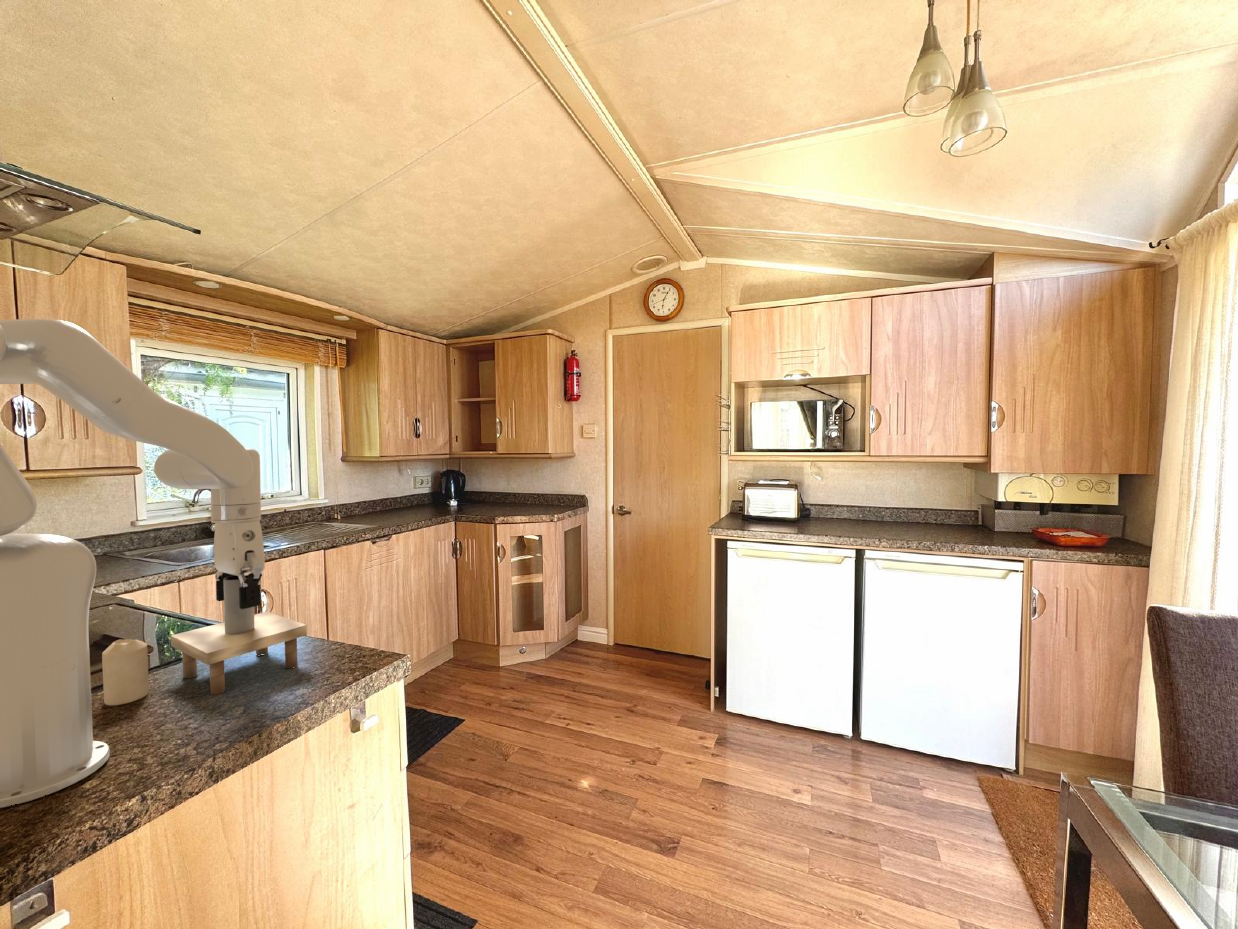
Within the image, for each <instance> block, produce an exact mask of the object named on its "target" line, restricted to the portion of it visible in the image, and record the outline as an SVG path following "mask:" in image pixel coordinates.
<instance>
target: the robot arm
mask: <svg viewBox="0 0 1238 929" xmlns="http://www.w3.org/2000/svg"><path fill="white" fill-rule="evenodd" d="M16 384H17V385H25V384H26V385H28V384H29V385H30V384H33V385H34V384H37V385H39V386H40V387H42V388H44V389H45V390H46V391H47V392H49V393H50V394H52V395H53V396H54V397H56V398H58V399H59V400H60V401H62V402H63V403H64V404H65V405H67V406H68V407H70V408H71V409H73V410H74V411H75V412H77V413H78V414H80V416H82V417H84V418H85V419H86V420H87V421H88V422H89V423H91V424H92V425H94V426H95V427H97V429H99V430H101V431H103V432H105V433H108V434H110V435H113V436H117V437H119V438H122V439H126V440H129V441H134V442H138V443H143V444H148V445H152V446H157V447H161V448H163V449H167V450H165V451H163V452H162V453H161V454H160V455H159V456H158V457H157V459H156V460H155V462H154V467H153V470H154V474H155V477H156V479H158V480H159V481H160V483H162V484H164V485H165V486H168V487H170V488H174V489H178V490H210V512H211V513H210V518H211V523H212V524H214V536H213V562H214V570H215V576H214V578H215V589H216V590H215V599H216V601H217V602H224V583H223V579H224V578H225V577H228V576H232V575H234V576H238V577H239V580H240V583H241V586H242V587H239V607H240V609H246V608H250V607H254V608H255V607H259V606H260V605H261V603H262V602H261V584H262V579H261V578H262V576H263V574H262V572H263V571H264V570H265V568H266V564H265V563H266V562H265V548H264V547H265V546H264V536H263V531H262V526H261V519H262V503H261V502H262V501H261V499H262V498H261V494H262V493H261V457H260V453H259V451H257V450H256V449H254V448H246V447H245V446H244V445H242V443H241V442H240V441H238V439H237V438H236V437H234V436H233V435H232V434H231V432H230V431H228V430H227V429H226V428H224V427H223V426H222V425H220V424H219V423H217V422H216V421H214V420H212V419H210V418H208V417H206V416H204V415H203V414H200V413H199V412H196V411H194V410H192V409H190V408H187V407H186V406H184V405H181V404H180V403H177V402H175V401H173V400H170V399H169V398H165V397H164V396H162V395H160V394H158V393H157V392H156V391H155V390H153V389H152V388H151V387H150V386H149V385H147V384H146V383H145V382H144V381H143V379H141V378H140V377H139V376H138V375H137V374H135V373H134V372H133V371H132V370H131V369H130V368H128V367H127V365H125V364H124V363H123V362H121V360H119V358H118V357H116V356H115V355H114V354H113V353H112V352H111V351H109V350H108V349H107V348H106V347H105V346H104V345H102V343H101V342H99V341H98V340H97V339H96V338H95V337H93V336H92V335H91V334H90V333H89V332H88V331H86V330H85V329H83V328H82V327H80V326H78V325H76V324H74V323H72V322H69V321H64V320H61V319H56V318H55V319H53V318H52V319H51V318H22V319H21V318H20V319H18V318H17V319H0V385H16ZM26 479H27V478H25V476H24V475H23V474H22V472H21V471H20V470H19V468H18V467H17V465H16V464H15V462H14V461H13V459H12V458H11V456H10V455H9V454H8V452H7V451H6V450H5V448H4V447H3V445H2V444H1V443H0V809H3V808H7V807H11V805H12V806H16V805H15V804H17V805H19V804H23V803H27V802H31V801H33V800H36V799H40V798H42V797H46V796H48V795H50V794H54V793H56V792H59V791H60V790H63V789H66V788H67V787H69V786H72V785H74V784H76V783H78V782H79V781H81V780H83V779H85V778H87V777H88V776H90V775H92V774H94V773H95V772H97V770H98V769H101V767H103V765H104V764H105V763H107V761H108V759H110V755H111V754H110V752H111V750H110V746H109V744H107V743H106V742H104V741H99V740H94V734H93V730H94V729H93V708H92V705H93V704H92V683H91V661H90V659H91V658H90V655H91V654H90V643H89V642H90V638H89V635H90V634H89V620H90V619H89V617H90V616H89V615H90V607H91V600H92V594H93V592H94V586H95V583H96V577H97V569H98V568H97V561H96V557H95V556H94V554H93V552H92V551H91V549H89V548H88V546H86V545H85V544H83V543H82V542H80V541H78V540H76V539H75V538H74V539H73V538H71V537H67V536H62V535H58V534H49V533H48V534H47V533H15V532H17V531H19V530H21V529H23V528H24V527H25V526H27V525H28V524H30V522H31V521H32V520H33V518H34V517H35V515H36V513H37V509H38V508H37V507H38V502H37V498H36V496H35V494H34V490H33V489H32V487H31V485H30V484H29V483H28V481H27V480H26ZM246 575H248V577H247V579H246V577H245V576H246ZM45 795H46V796H45Z"/></svg>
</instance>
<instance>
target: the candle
mask: <svg viewBox="0 0 1238 929" xmlns="http://www.w3.org/2000/svg"><path fill="white" fill-rule="evenodd" d="M148 656H149V655H148V644H147V643H146V642H144V641H142V640H139V639H137V638H135V639H131V638H128V639H127V638H126V639H122V638H121V639H118V640H115V641H113V642H112V643H111V644H110V645H109V646H108V647H107V648H105V650H104V651H102V653H101V659H102V660H101V662H102V682H103V684H102V685H103V686H102V687H103V703H104V705H105V706H119V705H125V704H129V703H132V702H135V701H138V700H140V699H143V698H145V697H146V696H147V695H148V694H149V690H150V689H149V686H150V684H149V683H150V682H149V662H148V661H149V660H148V658H149V657H148Z"/></svg>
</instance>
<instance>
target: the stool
mask: <svg viewBox="0 0 1238 929" xmlns="http://www.w3.org/2000/svg"><path fill="white" fill-rule="evenodd" d="M254 624H255V625H254V629H252V630H250V631H248V632H244V633H240V634H226V633H225V621H223V622H220V623H216V624H212V625H208V626H204V627H199V628H195V629H191V630H188V631H187V630H186V631H183V632H180V633H176V634H171V635H170V641H171V642H170V643H171V645H170V646H171V647H172V648H173V649H176V650H178V651H180V652H181V655H182V656H181V657H182V678H183V679H184V678H188V679H192V678H195V677H197V676H198V667H197V665H198V662H197V661H199V662H201V663H203V664H205V665H207V666H209V691H210V694H209V695H211V696H214V695H216V696H217V695H220V694H222V693H224V692H225V691H226V683H225V682H226V680H225V660H229V659H232V658H236V657H239V656H242V655H246V654H248V653H251V652H255V655H256V654H257V655H261V654H266V655H268V654H267V653H269V647H272V646H275V645H279V644H282V643H284V664H285V667H286V668H292V669H294V668H293V667H295V668H297V667H298V638H301V637H305V636H307V635H308V629H307V628H308V627H307V624H305V623H302V622H298V621H295V620H293V619H290V618H288V617H287V618H286V617H284V616H281V615H278V614H275V613H272V612H270V611H264V612H259V613H257V614H256V613H254ZM285 667H284V668H285ZM286 668H285V669H286ZM196 675H197V676H196Z"/></svg>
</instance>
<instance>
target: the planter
mask: <svg viewBox="0 0 1238 929" xmlns="http://www.w3.org/2000/svg"><path fill="white" fill-rule="evenodd" d="M245 577H246V579H247V577H248V575H246V576H245ZM223 583H224V600H223V608H224V609H223V611H224V612H223V614H224V622H225V633H226V634H240V633H244V632H248V631H250V630H252V629H254V625H255V624H254V615H255V607H250V608H246V609H240V607H239V587H242V586H241V583H240V580H239V577H238V576H234V575H232V576H228V577H225V578H224V579H223Z"/></svg>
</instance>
